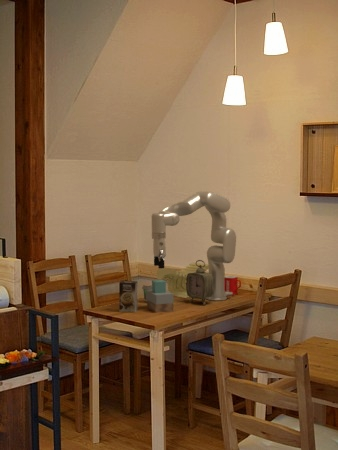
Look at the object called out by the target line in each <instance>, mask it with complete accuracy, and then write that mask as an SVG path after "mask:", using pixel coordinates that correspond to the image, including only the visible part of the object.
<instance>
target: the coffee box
mask: <svg viewBox="0 0 338 450" xmlns="http://www.w3.org/2000/svg"><path fill="white" fill-rule="evenodd" d="M118 285H119V290H118V291H119V293H118V295H119V296H118V298H119V299H118V300H119V302H118V303H119V305H118V307H119V308H118V309H119V310H118V312H119V313H137V311H138V281H137V280H134V281H133V280H121V281H119V284H118Z"/></svg>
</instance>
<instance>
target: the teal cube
mask: <svg viewBox="0 0 338 450" xmlns="http://www.w3.org/2000/svg"><path fill="white" fill-rule="evenodd" d="M151 285H152V292H154V293H166V291H167V289H166V288H167V281H166V280H157V279H156V280H151Z"/></svg>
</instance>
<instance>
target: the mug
mask: <svg viewBox="0 0 338 450" xmlns="http://www.w3.org/2000/svg"><path fill="white" fill-rule="evenodd" d="M238 282H239V283H238ZM238 284H239V286H238ZM241 287H242V280H241V279H239V278H238V276H237V275H225V291H226V292H232V293H233V294H232V295H231V296H235V295H237V294H238V290H239V289H240V288H241ZM234 294H235V295H234Z"/></svg>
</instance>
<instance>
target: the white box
mask: <svg viewBox="0 0 338 450" xmlns="http://www.w3.org/2000/svg"><path fill="white" fill-rule="evenodd" d="M146 300H148V301H150V302H152V303H154V304H167V303H173V304H174V296H173V293H170V292H169V291H168V290H166V293H154V292H152V290H146Z"/></svg>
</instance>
